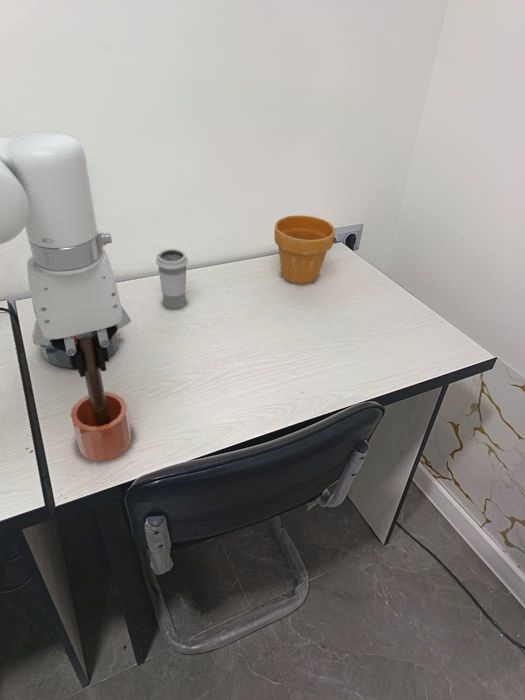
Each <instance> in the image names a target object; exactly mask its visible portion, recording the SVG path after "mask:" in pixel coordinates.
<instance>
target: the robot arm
mask: <svg viewBox="0 0 525 700" xmlns="http://www.w3.org/2000/svg"><path fill="white" fill-rule="evenodd" d="M93 202H94V201H93V194H92V189H91V183H90V177H89V170H88V164H87V158H86V153H85V150H84V147H83V146H82V144H81V143H80V141H79V140H78V139H76V138H75V137H73V136H71V135H68V134H65V133H60V132H34V133H27V134H24V135H20V136H18V137H0V245H2V244H5V243H8V242H11V241H12V240H13V239H15V238H16V237H18V235H20V234H21V233H22V231H23V230H24V229H25V231H26V236H27V240H28V244H29V247H30V252H31V255H32V256H31V257H29V259H28V260H27V263H26V264H27V266H26V268H27V270H26V271H27V280H28V287H29V292H30V297H31V301H32V303H31V304H32V306H33V311H34V315H35V318H36V319H35V323H34V327H33V330H32V334H31V339H32V342H33V344H34V345H35V346H40V345H45V346H49V345H52V346H53V347H55V348H57V349H60V350H62V351H64V352H67V354H68V355H69V359H70V363H71V366H72V368H71V369H72V371H75V370H77V372H78V375H79V377H80V378H85V376H84V375H86V374H85V369H84V365H83V360H82V356H81V353H80V350H79V349H78V345H77V343H76V342H75V341H74V335H78V334H83V333H87V332H91V331H94V332H95V336H94V342H95V348H96V353H97V358H98V363H99V368H100V372H106V371H107V365H106V362H110V356H109V357H108V351H107V346H108V345H109V340H110V339H111V338H112V337H113V336H114V334H115V333H116V332H117V331H118V330H121V329H122V328H124V327H125V326H127V325H128V324H130V323H131V322H132V319H131V318H130V315H129V313H128V312H127V311H126V310H125V308H124V307H123V306H122V304H121V299H120V295H119V290H118V286H117V282H116V279H115V275H114V272H113V269H112V264H111V263H110V259H109V256H108V254H107V252H106V250H105V249H104V246H106V245H108V244H112V242H113V241H112V235H111V233H110V231H106V232H104V231H100V230H99V229H98V226H97V221H96V220H97V219H96V213H95V208H94V203H93Z"/></svg>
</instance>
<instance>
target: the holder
mask: <svg viewBox="0 0 525 700" xmlns="http://www.w3.org/2000/svg"><path fill="white" fill-rule="evenodd" d="M104 392H105V397H106V402H107V407H108V412H109V417H110V423H109V424H106V425H103V426H96V424H95V420H94V416H93V411H92V407H91V403H90V398H89V394H88V395H85V396H83V397H82V398H80V399H79V400H78V401H77V402H76V403H75V404H74V405H73V407H72V409H71V412H70V419H71V424H72V427H73V431H74V434H75V438H76V442H77V446H78V450H79V452H80V454H81V455H82V456H83V457H84V458H86V459H88V460H90V461H93V462H107V461H112V460H114V459H116V458H119V457H120V456H122V455H123V454H124V453H125V452H126V451H127V450H128V449H129V447H130V445H131V442H132V430H131V425H130V417H129V411H128V405H127V403H126V400H125V399H124V398H123V397H121V396H120V395H119V394H116V393H113V392H108V391H104Z"/></svg>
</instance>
